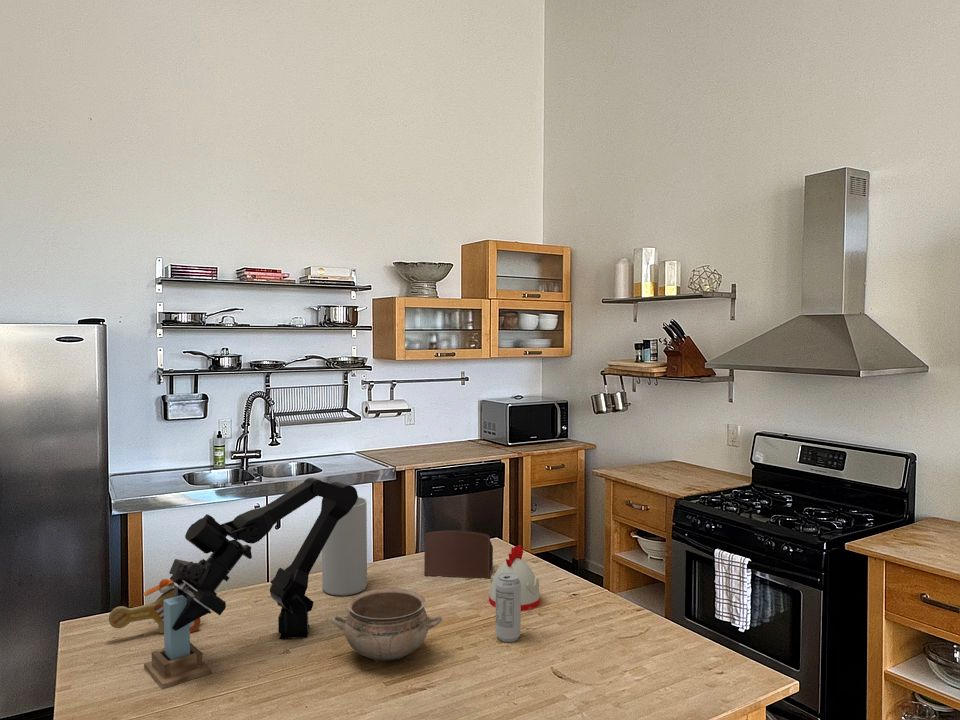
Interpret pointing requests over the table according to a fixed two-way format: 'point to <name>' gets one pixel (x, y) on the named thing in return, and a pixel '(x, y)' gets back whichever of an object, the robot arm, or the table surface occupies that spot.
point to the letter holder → (458, 554)
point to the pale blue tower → (174, 640)
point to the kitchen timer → (525, 576)
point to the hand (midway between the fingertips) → (170, 626)
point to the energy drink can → (508, 607)
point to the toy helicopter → (148, 609)
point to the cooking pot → (386, 623)
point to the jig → (176, 667)
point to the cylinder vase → (347, 553)
